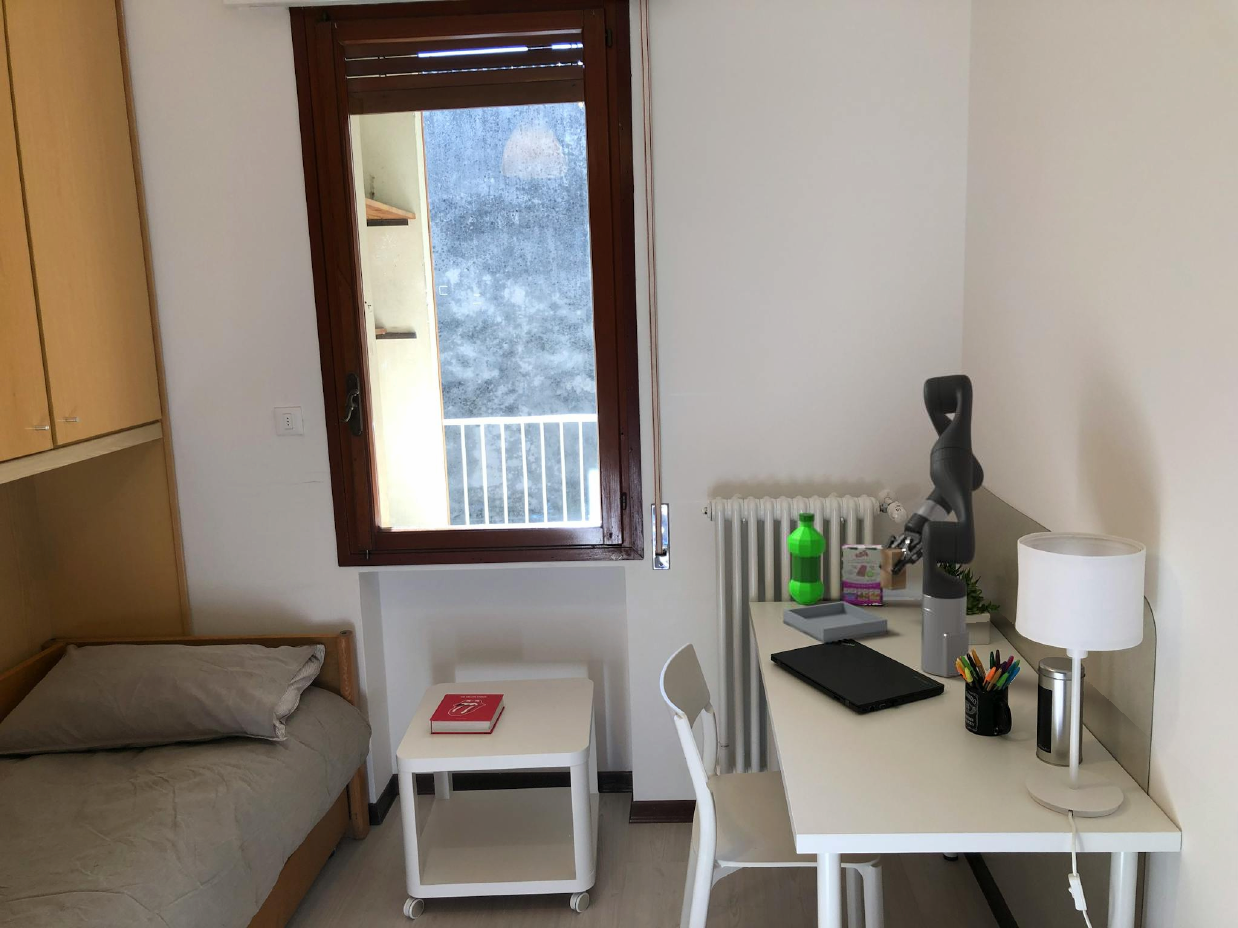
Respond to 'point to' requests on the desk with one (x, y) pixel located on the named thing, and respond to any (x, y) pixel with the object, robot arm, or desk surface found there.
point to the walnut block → (887, 576)
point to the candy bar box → (861, 574)
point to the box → (834, 621)
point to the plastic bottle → (806, 561)
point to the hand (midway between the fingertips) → (887, 570)
